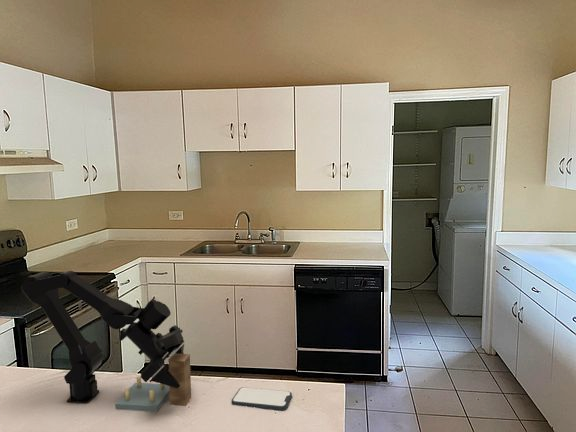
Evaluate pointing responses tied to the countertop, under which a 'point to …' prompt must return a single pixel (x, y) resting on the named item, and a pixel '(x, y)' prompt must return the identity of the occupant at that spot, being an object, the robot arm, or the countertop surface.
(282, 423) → the countertop surface
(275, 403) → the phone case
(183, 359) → the walnut block
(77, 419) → the countertop surface
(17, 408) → the countertop surface
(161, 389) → the pegged blue base plate
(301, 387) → the countertop surface
